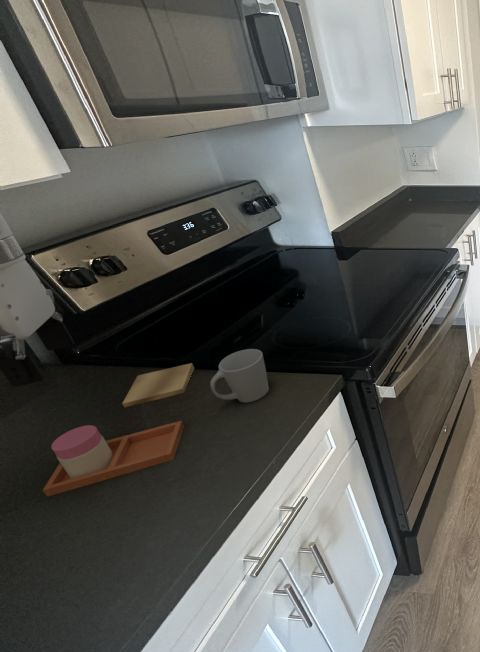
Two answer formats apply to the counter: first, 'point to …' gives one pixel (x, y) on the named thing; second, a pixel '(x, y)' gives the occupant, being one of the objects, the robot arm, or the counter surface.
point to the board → (159, 385)
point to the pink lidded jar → (82, 451)
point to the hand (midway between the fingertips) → (46, 364)
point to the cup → (243, 376)
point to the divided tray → (125, 457)
